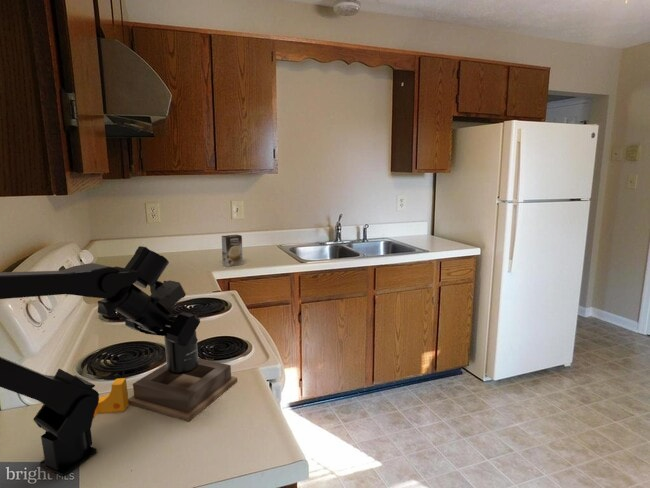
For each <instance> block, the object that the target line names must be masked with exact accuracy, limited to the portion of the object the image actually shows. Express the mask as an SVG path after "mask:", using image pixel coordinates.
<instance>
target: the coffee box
mask: <svg viewBox="0 0 650 488" xmlns="http://www.w3.org/2000/svg"><path fill="white" fill-rule="evenodd" d="M221 252H222V253H221V255H222V266H224V267H227V268H229V267H235V266H241V265H244V261H243V235H241V234H225V235H221Z"/></svg>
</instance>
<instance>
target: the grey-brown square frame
mask: <svg viewBox="0 0 650 488" xmlns="http://www.w3.org/2000/svg"><path fill="white" fill-rule="evenodd" d="M231 367H232V366H231V364H227V363H222V362H218V361H217V362H216V361H213V360H209V359H208V360H207V359H204V358H199V357H198V367H197V368H196V369H195V370H193V371H192V372H189V373H186V374H178V375H177V374H171V373H169V372H168V370H167V363H165V364H164V365H162V366H160V367H159V368H157V369H154V370H153V371H151V372H150V373H148V374H147V375H145V376H143V377H142V378H140V379H138V380H136V381H135V382H134V383H132V388H133V389H132V390H133V396H131V397H128V402H129V405H130V406H134V407H138V408H141V409H143V410H144V409H145V410H148V411H151V412H155V413H158V414H161V415H164V416H168V417H171V418H175V419H179V420H183V421H185V422H188V423H189V422H190V421H192V420H193V419H194V418H195V417H197V416H198V415H199V414H200V413H201V412H203V411H205V409H206V408H207V407H208V406H209V405H211V404H212V403H213V402H214V401H216V400H217V399H218V398H219V397H220V396H222V395H223V394H224V393H225V392H227V390H229V389H230V388H231V387H232V386H233V385H235V384H236V383H237V382H238V376H232V368H231Z"/></svg>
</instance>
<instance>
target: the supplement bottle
mask: <svg viewBox="0 0 650 488" xmlns="http://www.w3.org/2000/svg"><path fill="white" fill-rule="evenodd" d="M173 316H174V317H177V316H178V314H177V315H173ZM169 321H170V320H169ZM168 328H169V329H170V327H168ZM167 332H168V331H167ZM167 332H166V333H165V335H164V336H163V337H164V339H163V340H164V349H165V361H166V363H165V364H167V370H168V372H169V373H171V374H177V375H178V374H186V373H189V372H192V371H193V370H195V369H196V368H197V367H198V358H199V352H198V341H197V342H196V344H187V345H186V346H181V345H178V344H175V343H172V342H170V341H169V340H168V339H167ZM194 334H195V336H196V337H197V329H196V330H195V332H194ZM197 338H198V337H197Z"/></svg>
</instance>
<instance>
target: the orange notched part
mask: <svg viewBox="0 0 650 488" xmlns="http://www.w3.org/2000/svg"><path fill="white" fill-rule="evenodd" d="M128 394H129V393H128V385H127V377H124V378H123V377H122V378H121V377H120V378H115V380H114V381H113V382H112V384H111V390H110V392H109V393H107V394H106V395H104V396H103V395H102V396H99V402H98V405H97V407H96V409H95V413H94V417H93V419H95V417H96V415H97V414H108V413H120V412H125V411H126V409H127V408H128V406H129V405H130V404H129V402H128V399H129V395H128Z"/></svg>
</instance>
